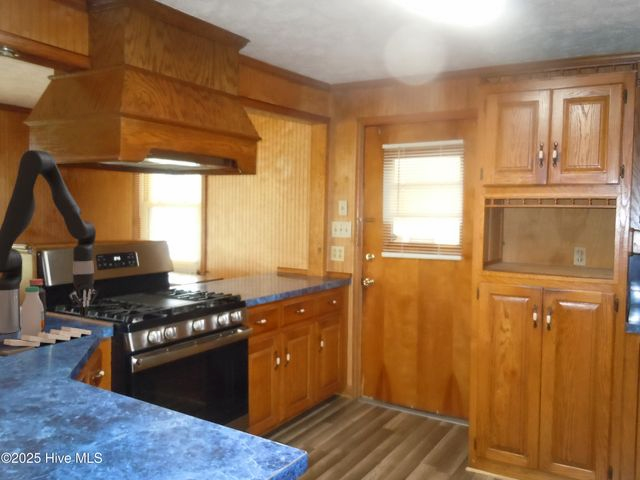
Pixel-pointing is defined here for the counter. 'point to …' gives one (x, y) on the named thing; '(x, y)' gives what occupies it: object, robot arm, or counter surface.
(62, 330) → the domino
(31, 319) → the milk bottle
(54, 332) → the domino
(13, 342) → the domino
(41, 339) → the domino
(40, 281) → the vinegar
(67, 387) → the counter surface
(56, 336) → the domino
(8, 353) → the domino
